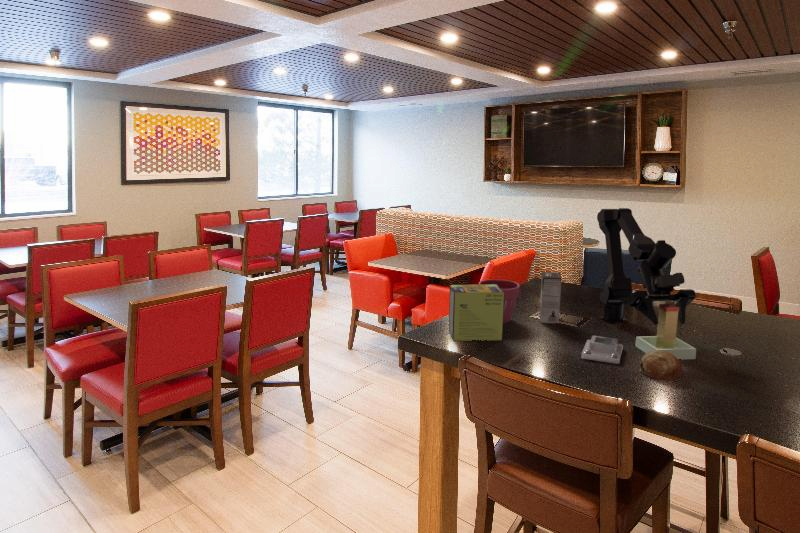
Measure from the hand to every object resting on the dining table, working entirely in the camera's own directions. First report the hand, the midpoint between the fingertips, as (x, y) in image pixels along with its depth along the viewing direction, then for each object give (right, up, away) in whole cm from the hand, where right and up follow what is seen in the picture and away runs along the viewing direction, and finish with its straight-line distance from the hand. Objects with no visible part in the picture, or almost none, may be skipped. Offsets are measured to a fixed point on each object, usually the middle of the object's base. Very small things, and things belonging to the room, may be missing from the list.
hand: (670, 323), depth 157 cm
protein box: (-53, -6, +18) cm, 57 cm away
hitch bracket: (-19, -9, +2) cm, 21 cm away
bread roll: (-8, -12, -12) cm, 19 cm away
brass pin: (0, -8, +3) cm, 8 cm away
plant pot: (-43, -2, +35) cm, 55 cm away
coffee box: (-25, -2, +35) cm, 43 cm away
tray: (0, -9, +3) cm, 9 cm away
